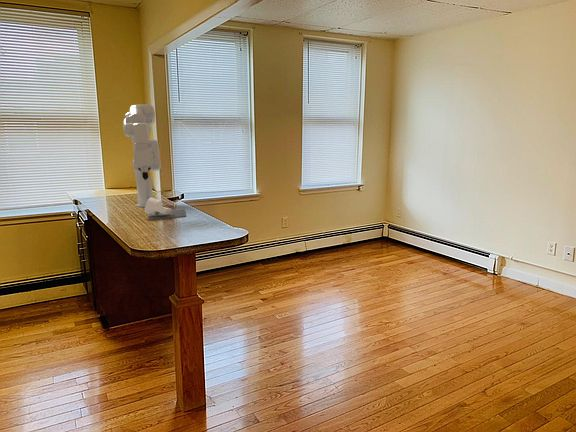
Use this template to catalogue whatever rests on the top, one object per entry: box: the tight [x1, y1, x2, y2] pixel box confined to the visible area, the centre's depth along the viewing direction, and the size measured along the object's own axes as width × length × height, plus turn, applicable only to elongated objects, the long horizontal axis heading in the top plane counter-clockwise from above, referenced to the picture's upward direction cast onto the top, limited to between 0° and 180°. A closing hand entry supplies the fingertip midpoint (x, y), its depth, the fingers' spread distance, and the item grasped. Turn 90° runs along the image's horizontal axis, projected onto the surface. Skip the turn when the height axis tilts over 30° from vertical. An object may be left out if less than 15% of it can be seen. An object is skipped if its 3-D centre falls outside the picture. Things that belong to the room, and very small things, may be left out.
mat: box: [147, 209, 186, 221], centre depth 247 cm, size 20×20×1 cm
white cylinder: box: [144, 197, 173, 216], centre depth 241 cm, size 9×9×12 cm
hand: (145, 179), depth 240 cm, fingers closed
